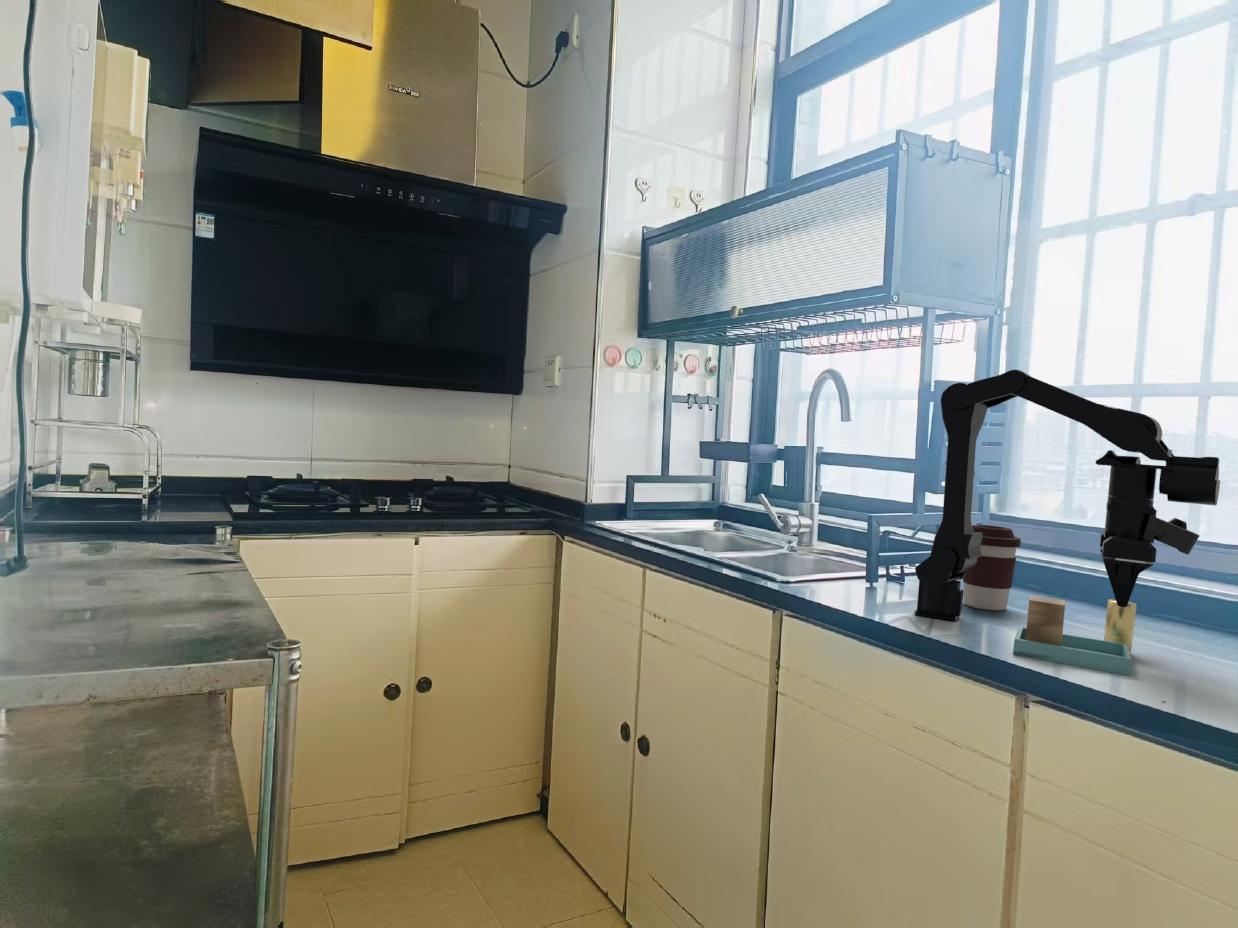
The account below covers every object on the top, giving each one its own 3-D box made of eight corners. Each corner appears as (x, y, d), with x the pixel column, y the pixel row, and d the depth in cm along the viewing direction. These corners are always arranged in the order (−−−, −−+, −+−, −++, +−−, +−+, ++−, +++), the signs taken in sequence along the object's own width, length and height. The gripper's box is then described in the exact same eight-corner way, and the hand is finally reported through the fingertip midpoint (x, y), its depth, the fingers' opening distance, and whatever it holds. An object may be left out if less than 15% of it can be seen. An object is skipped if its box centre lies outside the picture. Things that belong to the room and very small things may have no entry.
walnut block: (1024, 648, 112) (1029, 600, 112) (1026, 641, 116) (1030, 595, 116) (1060, 654, 110) (1064, 605, 110) (1061, 647, 114) (1065, 600, 114)
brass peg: (1103, 651, 116) (1108, 601, 116) (1102, 646, 119) (1107, 598, 119) (1132, 656, 114) (1137, 606, 114) (1130, 651, 117) (1135, 602, 117)
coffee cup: (964, 598, 152) (971, 522, 151) (1020, 608, 146) (1027, 528, 145) (949, 605, 144) (955, 524, 144) (1007, 615, 138) (1014, 531, 137)
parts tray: (1013, 654, 111) (1014, 639, 111) (1017, 640, 119) (1019, 626, 119) (1130, 675, 104) (1131, 659, 104) (1126, 659, 112) (1127, 644, 112)
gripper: (1206, 506, 104) (1195, 622, 104) (1189, 501, 120) (1179, 601, 120) (1108, 498, 109) (1097, 608, 110) (1104, 493, 125) (1095, 589, 126)
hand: (1120, 601), depth 116 cm, fingers open, 9 cm apart
